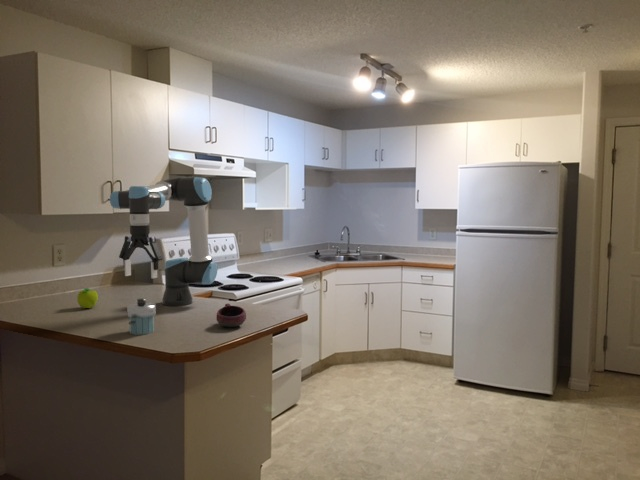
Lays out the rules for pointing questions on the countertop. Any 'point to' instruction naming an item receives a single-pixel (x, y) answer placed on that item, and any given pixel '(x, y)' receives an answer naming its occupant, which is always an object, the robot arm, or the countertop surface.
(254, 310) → the countertop surface
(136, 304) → the lid
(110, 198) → the robot arm
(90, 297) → the fruit
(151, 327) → the pot
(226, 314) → the bowl
